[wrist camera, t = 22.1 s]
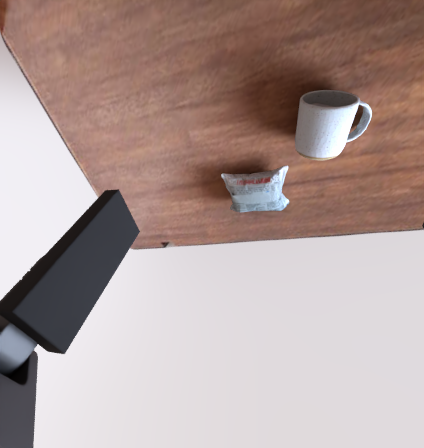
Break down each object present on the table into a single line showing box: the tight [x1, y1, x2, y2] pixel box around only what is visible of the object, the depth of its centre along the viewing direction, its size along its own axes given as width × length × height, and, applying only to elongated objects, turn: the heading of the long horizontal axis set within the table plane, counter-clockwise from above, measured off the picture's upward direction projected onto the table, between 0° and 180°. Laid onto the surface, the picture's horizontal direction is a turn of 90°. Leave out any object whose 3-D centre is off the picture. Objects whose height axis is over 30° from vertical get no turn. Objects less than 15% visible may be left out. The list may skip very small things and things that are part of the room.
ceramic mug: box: [295, 90, 372, 160], centre depth 37 cm, size 11×8×8 cm
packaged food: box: [222, 166, 289, 212], centre depth 48 cm, size 9×12×5 cm
